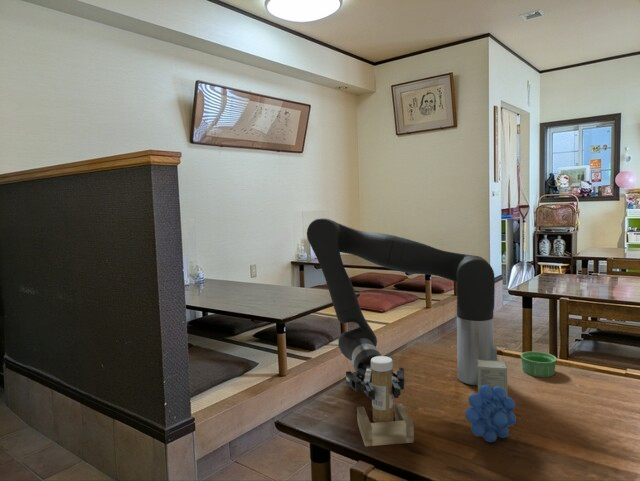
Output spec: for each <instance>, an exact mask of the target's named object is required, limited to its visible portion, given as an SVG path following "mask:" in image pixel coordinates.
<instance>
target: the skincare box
mask: <svg viewBox="0 0 640 481" xmlns="http://www.w3.org/2000/svg"><path fill="white" fill-rule="evenodd" d="M507 366H508V365H507V361H506V360H497V361H493V360H477V373H478V385H477V394H479V388H480V387H481V386H482V385H489V386H490V387H492V389H493V388H494V387H496V386H500V387H502V388H503V389H504V390H505V391H506V397H509V396H508V395H509V394H508V393H509V392H508V367H507ZM479 395H480V394H479Z"/></svg>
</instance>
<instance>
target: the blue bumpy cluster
mask: <svg viewBox="0 0 640 481" xmlns="http://www.w3.org/2000/svg"><path fill="white" fill-rule="evenodd" d="M479 394H480V395H479ZM479 394H478V392H476V393H474V392H473V393H471V394H470V395H469V396H468V403H469V404H468V405H469V406H470V407H467V409H466V410H465V418H466V420H467V421H468V422H469V423H471V425H470V429H471V432H472V434H473V435H474V436H476V437H483V439H484V441H486V442H488V443H493V442H496V441H497V439H498V438H501V439H506V438H508V436H509V435H510V429H509V427H512V426H515V425H516V423H517V416H516V415H515V413H513V411H514V410H515V408H516V402H515V401H514V399H513V398H512V397H510V396H508V397H506V391H505V390H504V389H503V388H502V387H500V386H496V387H494V388H493V389H492V387H490V386H489V385H482V386H481V387H480V388H479Z"/></svg>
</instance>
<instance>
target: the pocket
mask: <svg viewBox="0 0 640 481" xmlns="http://www.w3.org/2000/svg"><path fill="white" fill-rule="evenodd" d="M366 411H367V410H366V409H365V406H356V412H357V413H356V418H357V419H356V420H357V427H358V430H359V433H360V435H361V438H362V441H363V444H364V447H375V446H385V445H397V444H398V445H401V444H409V443H414V442H415V440H414V438H415V436H414V430H415V429H414V422H413V420H412V419H411V417H410V415H409V413H408V412H407V410H406V409H405V407H404V405H403V403H395V404H394V418H395V419H394V420H395V421H394V420H393V421H391V422H379V423H375V422H371V421H370V419H369V417H368V413H367V412H366Z"/></svg>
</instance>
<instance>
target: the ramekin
mask: <svg viewBox="0 0 640 481" xmlns="http://www.w3.org/2000/svg"><path fill="white" fill-rule="evenodd" d="M520 358H521V367H522V371H523V372H524V373H525V374H527V375H529V376H532V377H538V378H539V377H540V378H542V377H543V378H549V377H553V376H554V375H555V373H556V364H557V360H558V358H557V357H556V356H555V355H553V354H551V353H547V352H545V351H544V352H543V351H524V352H522V353H521V354H520Z"/></svg>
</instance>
